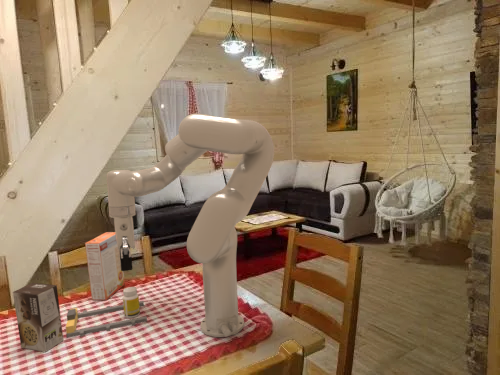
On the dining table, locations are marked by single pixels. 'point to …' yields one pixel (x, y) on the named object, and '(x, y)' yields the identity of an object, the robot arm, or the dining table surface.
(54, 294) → the coffee box
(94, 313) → the gray parallel rail frame
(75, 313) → the long yellow crossbar
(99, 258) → the cracker box
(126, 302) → the supplement bottle
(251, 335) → the dining table surface
